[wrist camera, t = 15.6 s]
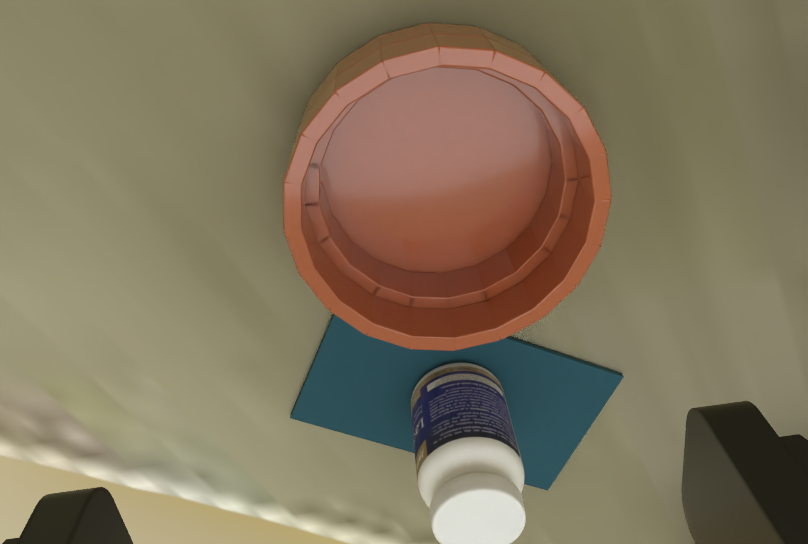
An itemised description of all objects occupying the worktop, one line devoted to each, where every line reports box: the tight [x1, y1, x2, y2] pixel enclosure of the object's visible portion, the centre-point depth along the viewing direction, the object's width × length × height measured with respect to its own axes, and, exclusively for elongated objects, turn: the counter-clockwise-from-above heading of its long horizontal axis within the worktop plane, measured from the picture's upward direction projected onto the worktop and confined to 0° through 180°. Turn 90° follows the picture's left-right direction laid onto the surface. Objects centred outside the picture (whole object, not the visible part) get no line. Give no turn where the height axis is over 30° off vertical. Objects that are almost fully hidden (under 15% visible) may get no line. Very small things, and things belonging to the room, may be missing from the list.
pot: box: [283, 23, 611, 351], centre depth 35 cm, size 15×15×6 cm
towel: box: [290, 314, 623, 490], centre depth 44 cm, size 18×10×1 cm, turn 68°
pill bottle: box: [411, 363, 526, 544], centre depth 40 cm, size 6×6×10 cm
